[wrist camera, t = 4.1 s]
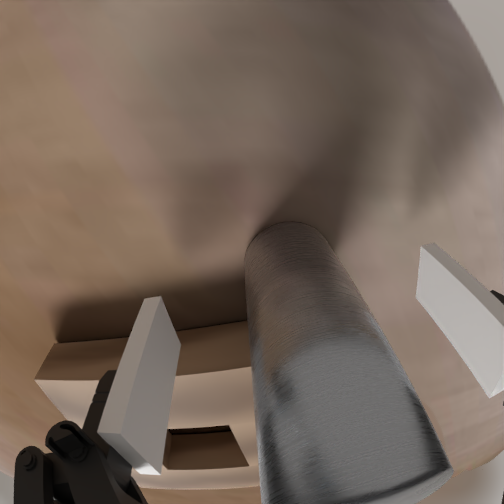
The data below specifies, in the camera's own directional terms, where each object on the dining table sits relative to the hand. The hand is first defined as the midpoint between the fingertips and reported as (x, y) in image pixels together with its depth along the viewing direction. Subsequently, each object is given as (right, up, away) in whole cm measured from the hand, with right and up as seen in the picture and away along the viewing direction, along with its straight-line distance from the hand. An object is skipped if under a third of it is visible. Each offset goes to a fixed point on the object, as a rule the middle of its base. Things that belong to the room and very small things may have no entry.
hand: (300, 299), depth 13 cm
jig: (-6, -10, +8) cm, 14 cm away
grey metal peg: (0, +1, +3) cm, 3 cm away
